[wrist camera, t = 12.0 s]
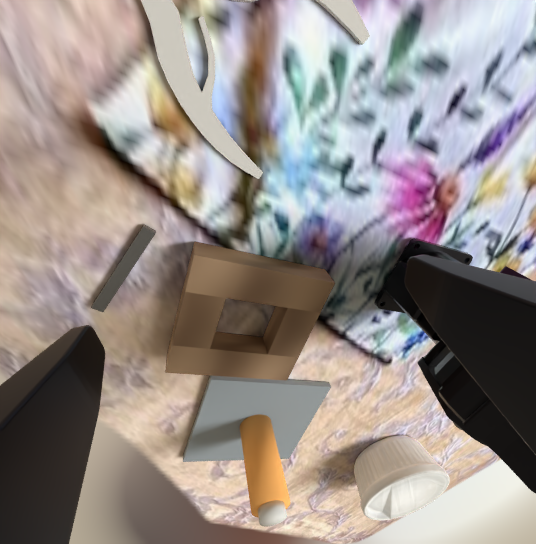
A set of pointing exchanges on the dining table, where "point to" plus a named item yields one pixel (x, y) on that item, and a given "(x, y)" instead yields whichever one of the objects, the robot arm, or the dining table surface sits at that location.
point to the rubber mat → (251, 414)
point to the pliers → (185, 84)
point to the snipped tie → (124, 268)
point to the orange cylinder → (264, 471)
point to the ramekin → (397, 478)
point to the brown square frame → (252, 288)
